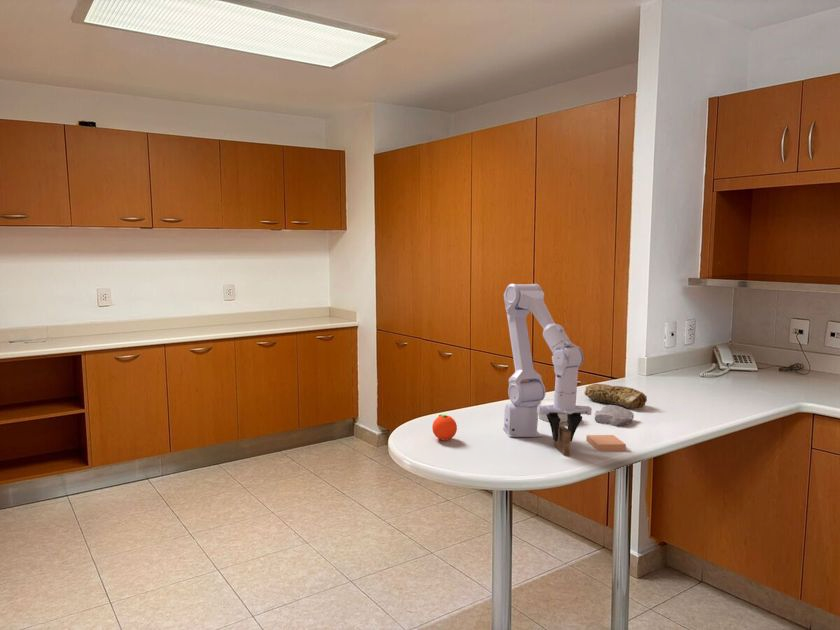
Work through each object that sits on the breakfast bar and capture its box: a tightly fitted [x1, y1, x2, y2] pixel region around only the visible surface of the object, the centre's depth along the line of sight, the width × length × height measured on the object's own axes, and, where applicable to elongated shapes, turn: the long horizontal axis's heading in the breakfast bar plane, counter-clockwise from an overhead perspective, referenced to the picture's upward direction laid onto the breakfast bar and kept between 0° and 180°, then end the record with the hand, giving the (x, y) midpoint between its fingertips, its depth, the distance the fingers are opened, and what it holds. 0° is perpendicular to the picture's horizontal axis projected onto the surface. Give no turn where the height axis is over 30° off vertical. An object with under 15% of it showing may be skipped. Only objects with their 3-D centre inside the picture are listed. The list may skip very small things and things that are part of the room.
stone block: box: [594, 404, 635, 427], centre depth 196 cm, size 12×5×10 cm
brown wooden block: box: [553, 423, 572, 457], centre depth 165 cm, size 2×8×6 cm, turn 7°
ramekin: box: [538, 398, 568, 424], centre depth 196 cm, size 11×11×5 cm
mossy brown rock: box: [584, 383, 648, 410], centre depth 218 cm, size 13×8×20 cm
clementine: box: [431, 414, 458, 441], centre depth 171 cm, size 8×7×7 cm
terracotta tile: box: [585, 434, 627, 452], centre depth 171 cm, size 2×8×8 cm
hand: (562, 440), depth 165 cm, fingers open, 3 cm apart
